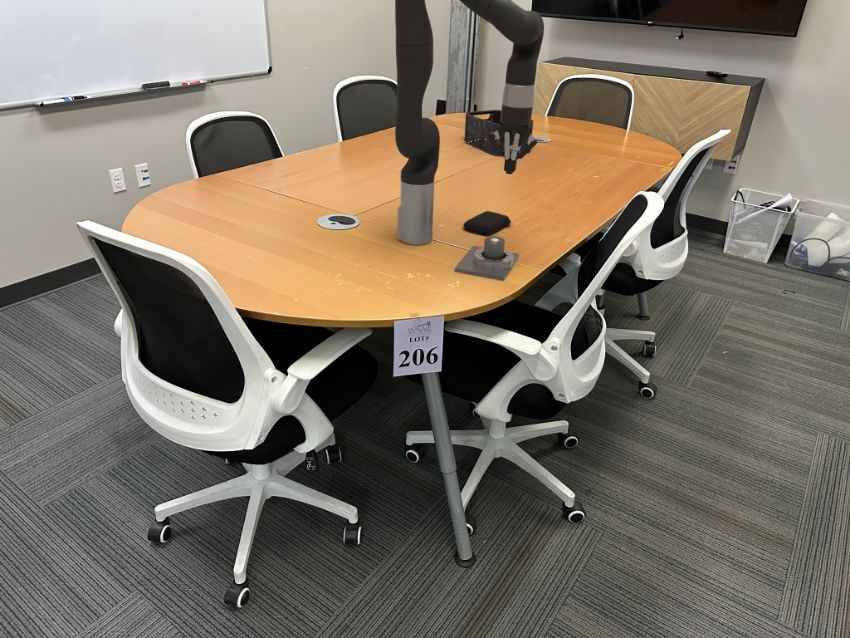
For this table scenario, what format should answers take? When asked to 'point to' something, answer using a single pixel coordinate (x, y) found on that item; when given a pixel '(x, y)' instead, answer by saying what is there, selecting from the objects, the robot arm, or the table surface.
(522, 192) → the table surface
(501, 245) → the dark gray cylinder
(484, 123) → the storage bin
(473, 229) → the carrying case or bag
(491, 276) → the lens mount
